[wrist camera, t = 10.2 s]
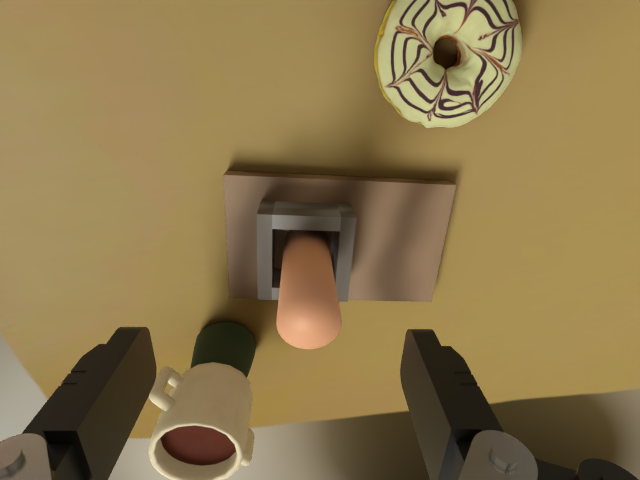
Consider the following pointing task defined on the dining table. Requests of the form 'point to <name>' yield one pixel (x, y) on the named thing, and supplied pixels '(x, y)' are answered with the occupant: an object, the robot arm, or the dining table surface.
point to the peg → (307, 291)
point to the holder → (338, 231)
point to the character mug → (206, 408)
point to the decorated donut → (467, 73)
